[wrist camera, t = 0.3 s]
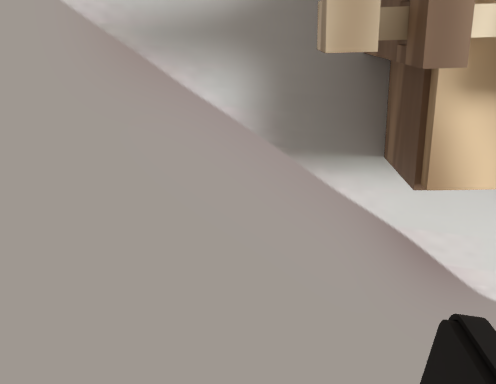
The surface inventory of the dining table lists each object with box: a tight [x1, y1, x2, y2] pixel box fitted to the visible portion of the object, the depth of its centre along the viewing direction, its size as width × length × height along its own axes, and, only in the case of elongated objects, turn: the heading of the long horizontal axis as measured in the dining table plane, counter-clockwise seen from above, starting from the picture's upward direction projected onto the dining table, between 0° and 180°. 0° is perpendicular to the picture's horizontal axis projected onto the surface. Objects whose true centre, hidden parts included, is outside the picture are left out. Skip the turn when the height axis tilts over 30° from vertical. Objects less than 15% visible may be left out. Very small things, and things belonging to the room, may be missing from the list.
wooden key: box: [317, 0, 496, 53], centre depth 23 cm, size 9×2×4 cm, turn 92°
